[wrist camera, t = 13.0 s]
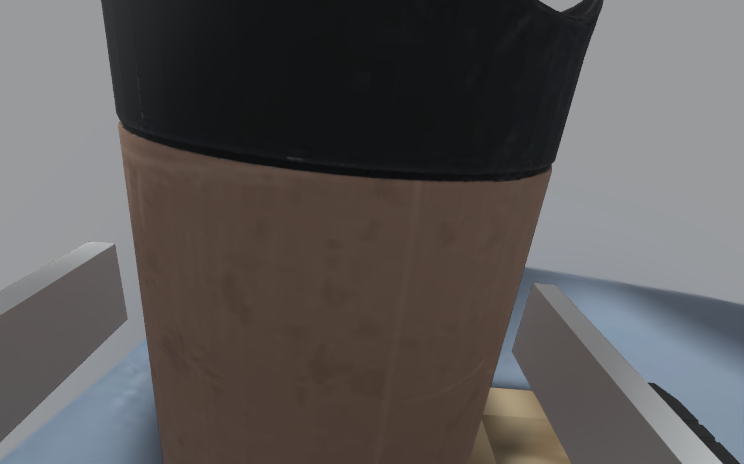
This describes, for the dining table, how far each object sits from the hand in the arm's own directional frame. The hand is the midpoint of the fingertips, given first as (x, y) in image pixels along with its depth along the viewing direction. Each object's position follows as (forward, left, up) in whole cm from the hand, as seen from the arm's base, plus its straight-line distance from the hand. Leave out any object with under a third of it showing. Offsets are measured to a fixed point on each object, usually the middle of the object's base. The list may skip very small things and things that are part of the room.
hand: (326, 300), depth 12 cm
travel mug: (0, +3, -12) cm, 12 cm away
